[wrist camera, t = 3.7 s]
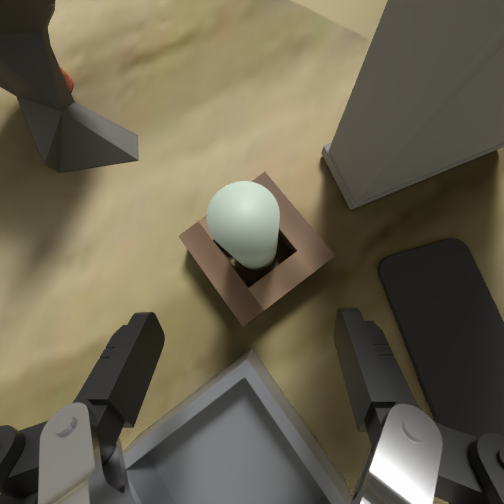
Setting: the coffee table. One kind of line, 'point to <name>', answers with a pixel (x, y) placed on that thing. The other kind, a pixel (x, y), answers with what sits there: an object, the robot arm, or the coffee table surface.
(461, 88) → the tall grey upright box
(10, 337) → the coffee table surface
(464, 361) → the phone
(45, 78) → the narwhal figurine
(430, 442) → the robot arm
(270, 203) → the pale green rounded cylinder
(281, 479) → the tray
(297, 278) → the brown hollow square block
